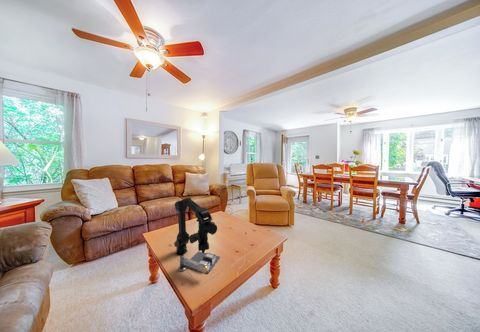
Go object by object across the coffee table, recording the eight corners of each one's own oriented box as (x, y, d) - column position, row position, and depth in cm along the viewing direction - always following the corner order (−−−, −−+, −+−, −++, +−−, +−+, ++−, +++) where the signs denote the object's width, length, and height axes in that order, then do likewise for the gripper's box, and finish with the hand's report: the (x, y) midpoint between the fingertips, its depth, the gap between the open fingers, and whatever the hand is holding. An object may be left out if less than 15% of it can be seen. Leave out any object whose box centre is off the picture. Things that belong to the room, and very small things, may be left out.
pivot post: (176, 270, 98) (176, 257, 97) (181, 265, 102) (181, 253, 102) (182, 272, 96) (182, 259, 95) (187, 267, 101) (187, 254, 100)
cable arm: (182, 264, 97) (182, 259, 97) (185, 262, 99) (185, 257, 99) (205, 273, 89) (205, 268, 89) (208, 271, 92) (208, 265, 91)
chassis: (184, 266, 101) (184, 262, 101) (198, 252, 116) (198, 248, 116) (208, 273, 95) (208, 268, 95) (220, 257, 110) (220, 253, 110)
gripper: (190, 224, 106) (190, 246, 107) (189, 238, 88) (189, 264, 89) (206, 222, 109) (206, 244, 110) (209, 235, 91) (209, 261, 92)
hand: (203, 252), depth 100 cm, fingers closed
